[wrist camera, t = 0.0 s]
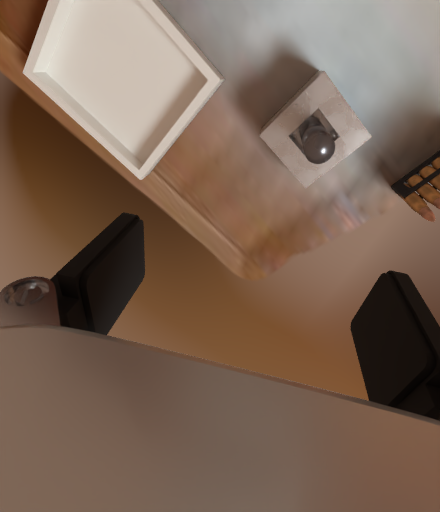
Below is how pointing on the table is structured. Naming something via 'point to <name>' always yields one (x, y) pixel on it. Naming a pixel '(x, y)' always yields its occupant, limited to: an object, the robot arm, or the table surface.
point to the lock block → (331, 116)
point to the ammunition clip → (421, 187)
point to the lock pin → (316, 141)
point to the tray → (122, 74)
